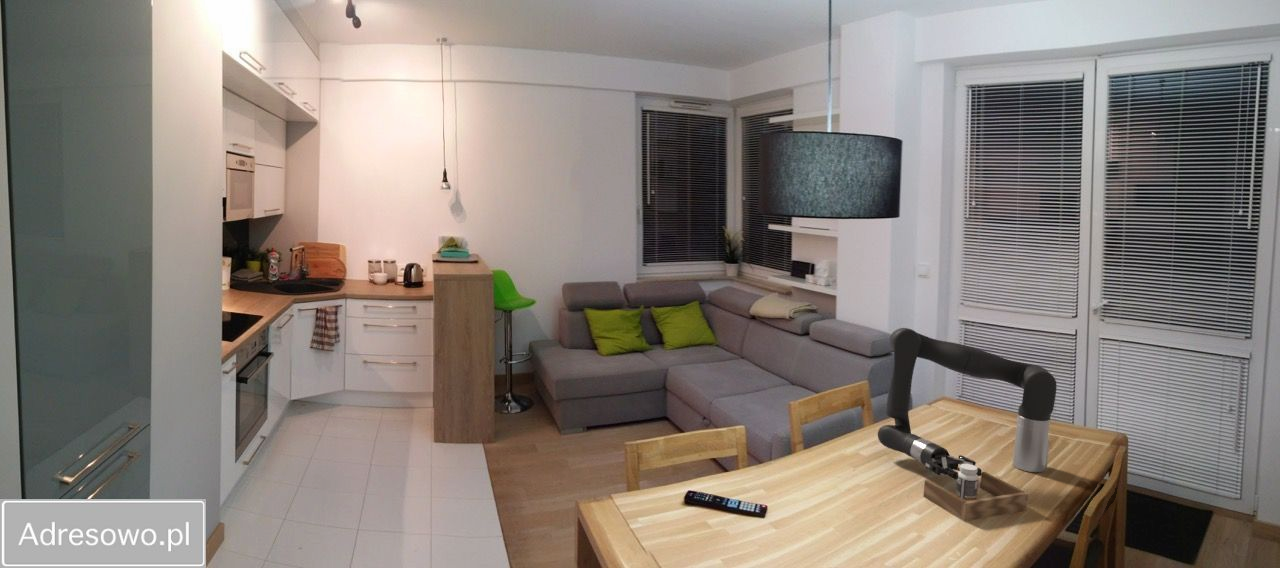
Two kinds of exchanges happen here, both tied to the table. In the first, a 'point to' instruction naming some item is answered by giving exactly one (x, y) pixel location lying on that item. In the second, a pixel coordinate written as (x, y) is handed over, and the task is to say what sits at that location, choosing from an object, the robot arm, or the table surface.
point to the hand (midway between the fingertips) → (968, 474)
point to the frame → (1003, 503)
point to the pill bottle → (967, 482)
